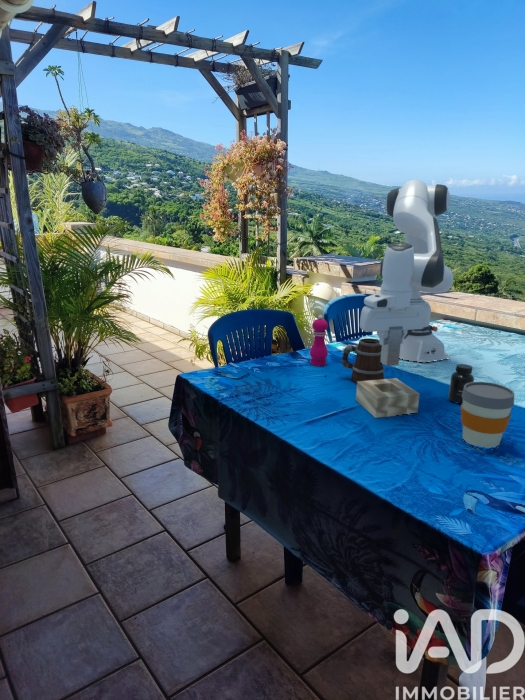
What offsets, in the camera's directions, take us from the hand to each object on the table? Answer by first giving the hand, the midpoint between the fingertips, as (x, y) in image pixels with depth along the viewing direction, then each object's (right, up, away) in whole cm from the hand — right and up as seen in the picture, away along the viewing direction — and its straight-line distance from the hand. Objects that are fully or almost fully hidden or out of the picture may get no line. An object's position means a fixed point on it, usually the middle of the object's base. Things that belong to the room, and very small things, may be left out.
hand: (390, 344), depth 143 cm
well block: (0, -20, +6) cm, 21 cm away
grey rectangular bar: (0, -6, +2) cm, 6 cm away
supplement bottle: (+25, -19, +11) cm, 33 cm away
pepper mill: (-17, -8, +46) cm, 50 cm away
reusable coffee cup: (+20, -27, -16) cm, 37 cm away
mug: (-3, -13, +29) cm, 32 cm away
